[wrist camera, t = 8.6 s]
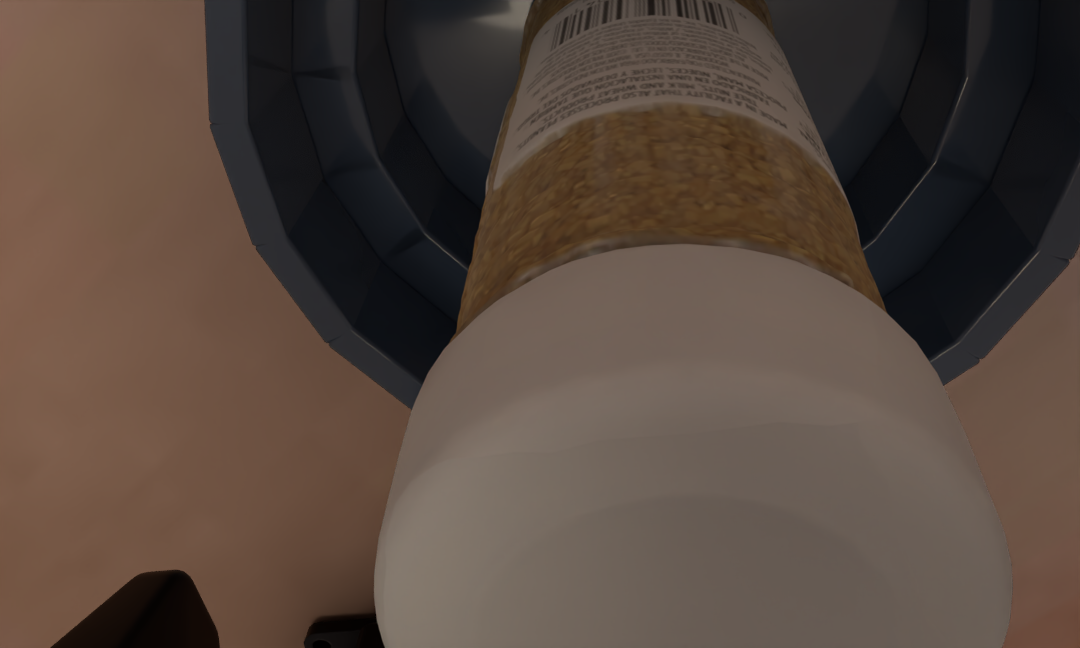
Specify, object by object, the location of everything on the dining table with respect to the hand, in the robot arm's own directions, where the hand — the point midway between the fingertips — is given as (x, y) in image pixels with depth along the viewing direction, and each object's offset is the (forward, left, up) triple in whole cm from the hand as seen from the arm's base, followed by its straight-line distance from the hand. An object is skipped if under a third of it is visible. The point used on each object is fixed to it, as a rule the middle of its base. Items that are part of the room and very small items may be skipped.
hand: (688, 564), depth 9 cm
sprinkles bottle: (+1, 0, -12) cm, 12 cm away
